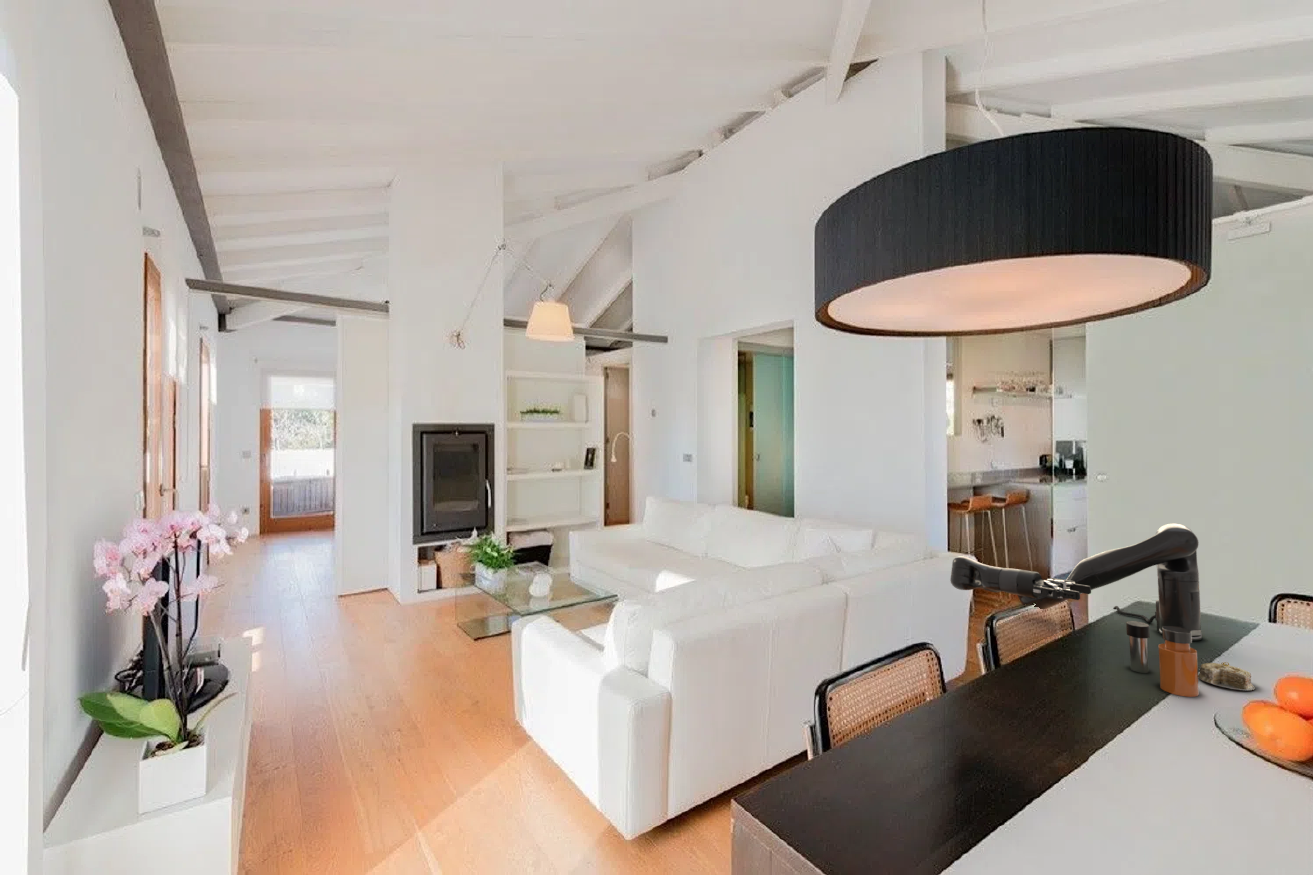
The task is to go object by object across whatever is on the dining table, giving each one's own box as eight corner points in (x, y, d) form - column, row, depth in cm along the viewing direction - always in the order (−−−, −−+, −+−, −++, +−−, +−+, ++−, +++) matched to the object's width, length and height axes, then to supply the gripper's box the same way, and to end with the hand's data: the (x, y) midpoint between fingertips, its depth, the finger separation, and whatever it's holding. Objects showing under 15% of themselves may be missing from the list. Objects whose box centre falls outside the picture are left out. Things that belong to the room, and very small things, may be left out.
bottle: (1152, 685, 140) (1150, 625, 140) (1179, 683, 140) (1177, 624, 140) (1178, 697, 133) (1175, 634, 133) (1207, 696, 133) (1204, 633, 133)
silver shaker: (1123, 667, 151) (1121, 621, 151) (1140, 666, 151) (1138, 620, 151) (1138, 674, 146) (1136, 627, 146) (1156, 673, 146) (1154, 626, 146)
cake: (1190, 674, 146) (1189, 653, 146) (1243, 681, 142) (1241, 658, 142) (1207, 687, 137) (1206, 664, 137) (1264, 694, 133) (1263, 670, 133)
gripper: (1030, 590, 175) (1094, 601, 162) (1010, 599, 166) (1076, 612, 153) (1029, 566, 175) (1093, 575, 162) (1009, 573, 166) (1075, 583, 153)
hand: (1085, 593), depth 158 cm, fingers open, 8 cm apart
